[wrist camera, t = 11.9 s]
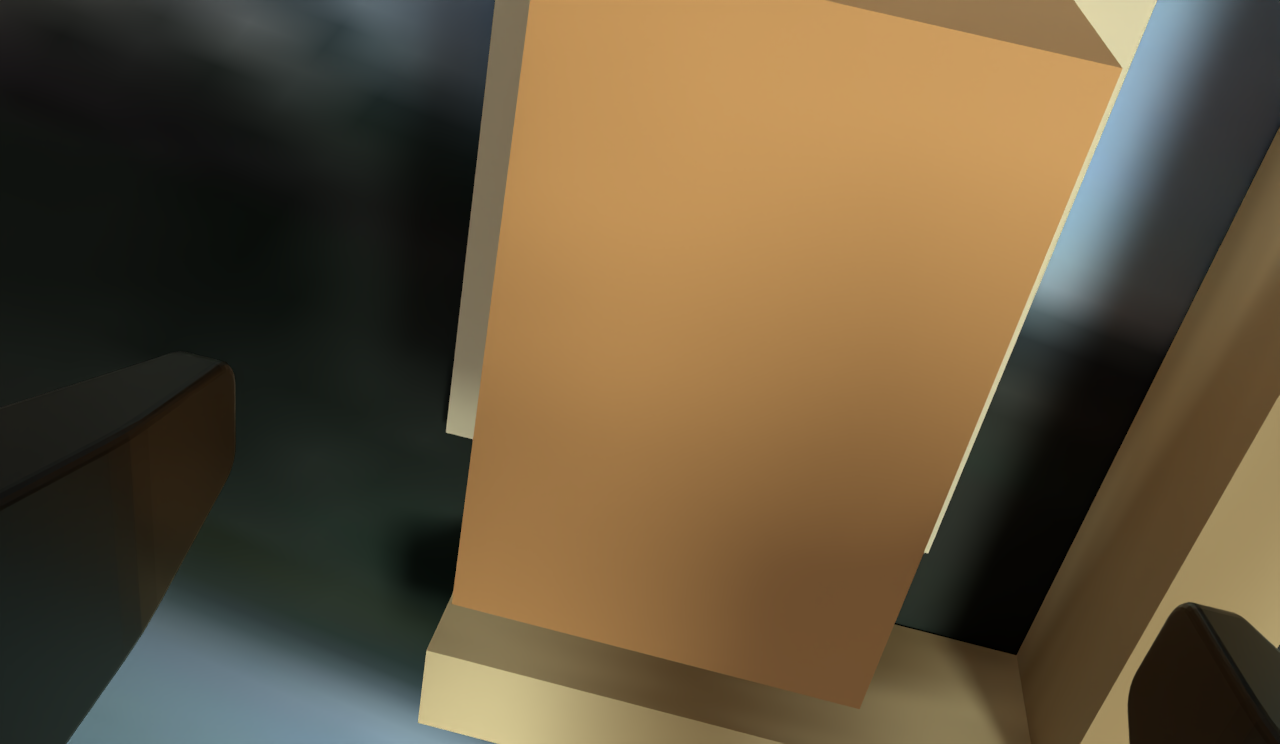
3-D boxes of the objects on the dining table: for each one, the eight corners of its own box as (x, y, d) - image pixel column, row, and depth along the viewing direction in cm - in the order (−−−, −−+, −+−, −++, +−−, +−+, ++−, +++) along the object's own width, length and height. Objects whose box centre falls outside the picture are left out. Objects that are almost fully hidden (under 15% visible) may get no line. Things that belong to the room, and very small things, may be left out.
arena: (1709, -379, 11) (1973, -404, 8) (1073, 742, 19) (1107, 904, 16) (647, -597, 11) (584, -684, 9) (476, 588, 19) (418, 722, 17)
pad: (1220, -171, 12) (1226, -169, 12) (927, 541, 17) (928, 553, 17) (538, -320, 13) (531, -320, 12) (451, 422, 18) (445, 432, 18)
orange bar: (859, 448, 16) (859, 708, 12) (555, 373, 17) (452, 604, 12) (1035, -54, 13) (1122, 68, 9) (644, -142, 13) (537, -65, 9)
